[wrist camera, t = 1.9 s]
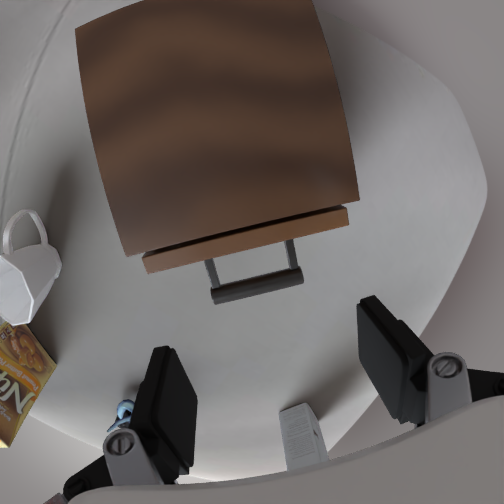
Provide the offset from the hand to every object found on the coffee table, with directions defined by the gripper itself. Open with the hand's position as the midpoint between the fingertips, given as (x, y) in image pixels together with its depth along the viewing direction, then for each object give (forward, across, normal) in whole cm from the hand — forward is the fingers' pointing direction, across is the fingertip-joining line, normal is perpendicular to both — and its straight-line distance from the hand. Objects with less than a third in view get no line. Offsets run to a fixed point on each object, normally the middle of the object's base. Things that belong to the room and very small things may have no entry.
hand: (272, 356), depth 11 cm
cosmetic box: (+18, -1, +27) cm, 32 cm away
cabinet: (+18, 0, -11) cm, 21 cm away
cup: (+18, +21, -4) cm, 28 cm away
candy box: (+18, +31, +7) cm, 37 cm away
